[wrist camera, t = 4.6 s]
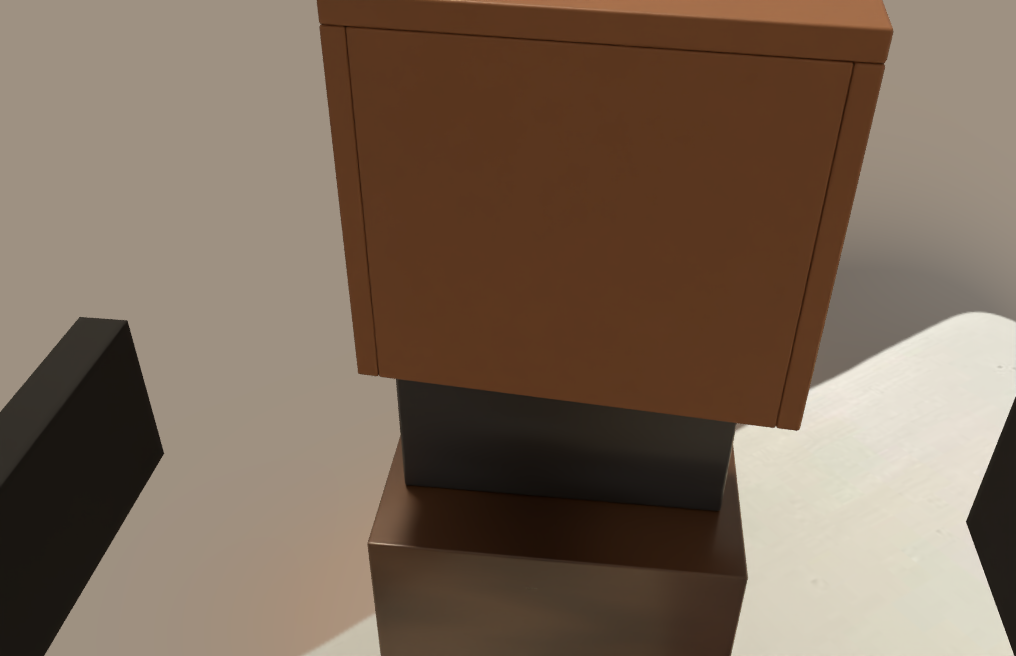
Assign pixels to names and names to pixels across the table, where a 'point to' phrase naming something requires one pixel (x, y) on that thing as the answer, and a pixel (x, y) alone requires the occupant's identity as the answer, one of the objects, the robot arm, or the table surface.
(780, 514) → the table surface
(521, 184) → the orange brown block
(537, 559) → the wooden block with slab
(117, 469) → the robot arm
